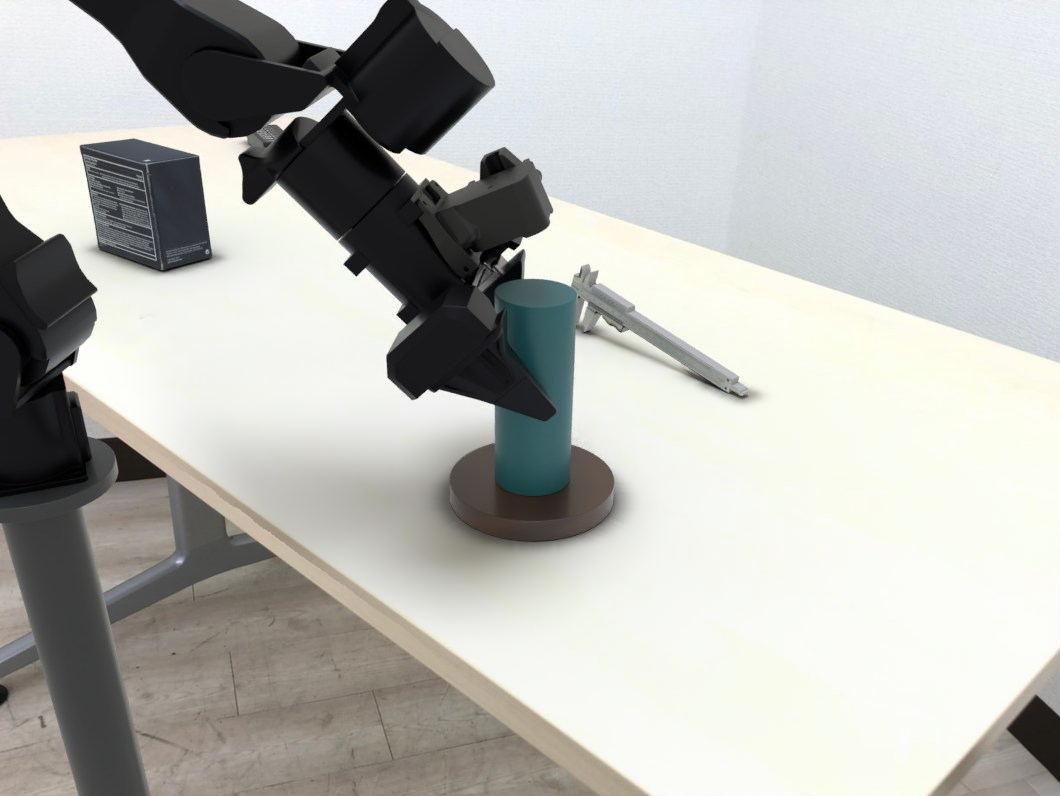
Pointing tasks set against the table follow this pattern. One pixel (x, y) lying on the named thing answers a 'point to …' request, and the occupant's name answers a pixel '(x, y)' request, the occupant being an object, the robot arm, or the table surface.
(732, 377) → the caliper
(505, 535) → the walnut chip
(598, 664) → the table surface
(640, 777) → the table surface
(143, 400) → the table surface
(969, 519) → the table surface
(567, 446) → the cylinder
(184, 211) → the small box
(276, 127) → the multiport hub
